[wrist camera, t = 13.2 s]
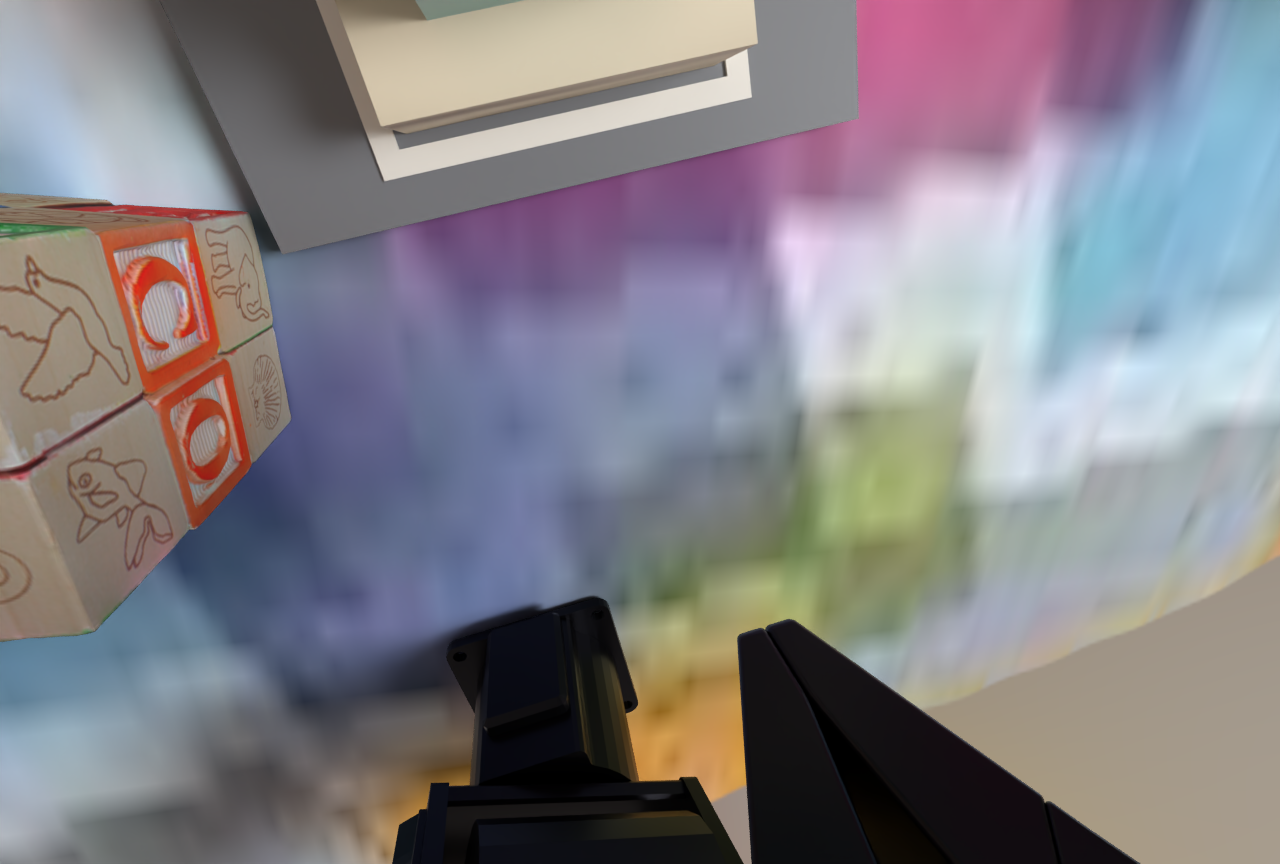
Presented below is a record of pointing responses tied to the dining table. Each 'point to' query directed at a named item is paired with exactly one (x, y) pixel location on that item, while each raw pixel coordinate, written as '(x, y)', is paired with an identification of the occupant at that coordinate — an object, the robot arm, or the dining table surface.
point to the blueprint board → (492, 145)
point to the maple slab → (530, 52)
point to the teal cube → (456, 6)
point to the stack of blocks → (121, 395)
